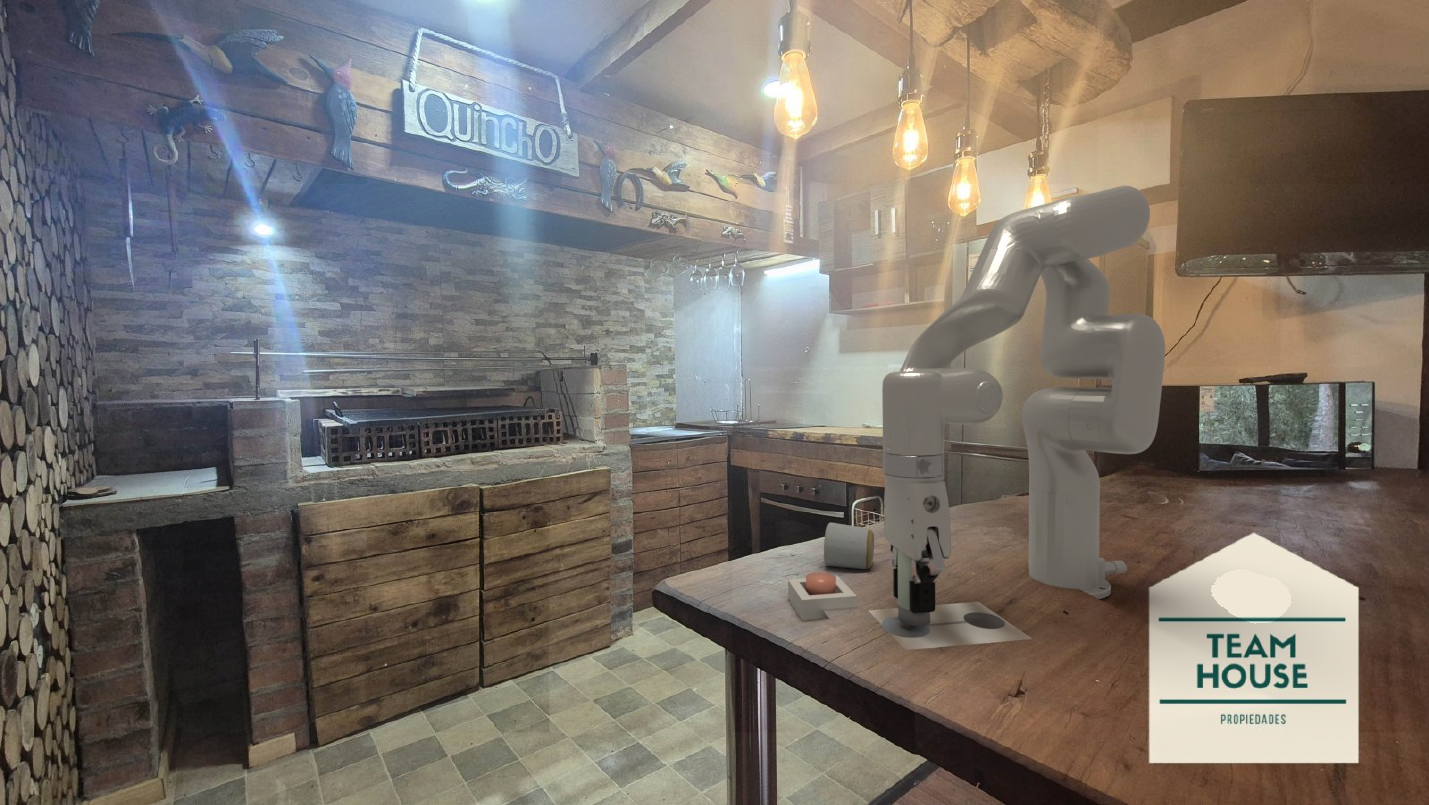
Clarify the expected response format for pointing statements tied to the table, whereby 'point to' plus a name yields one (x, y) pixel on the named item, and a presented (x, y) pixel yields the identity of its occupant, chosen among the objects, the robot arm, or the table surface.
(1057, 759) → the table surface
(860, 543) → the ceramic mug
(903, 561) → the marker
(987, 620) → the board
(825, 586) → the button
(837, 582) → the button housing
